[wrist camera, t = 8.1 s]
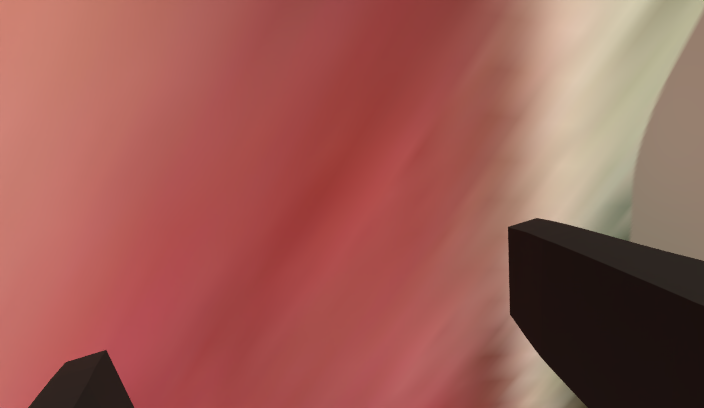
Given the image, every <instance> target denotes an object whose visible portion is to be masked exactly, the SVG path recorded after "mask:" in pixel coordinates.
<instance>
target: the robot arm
mask: <svg viewBox="0 0 704 408" xmlns="http://www.w3.org/2000/svg"><path fill="white" fill-rule="evenodd" d="M508 243H509V288H510V315H511V316H512V318H513V319H514V321H515V322H516V323H517V325H518V326H519V328H520V329H521V331H522V332H523V333H524V335H525V336H526V338H527V339H528V340H529V342H530V343H531V344H532V346H533V347H534V348H535V350H536V351H537V352H538V354H539V355H540V356H541V358H542V359H543V360H544V361H545V362H546V363H547V364H548V365H549V367H550V368H551V369H552V370H553V371H554V372H555V373H556V374H557V375H558V376H559V377H560V378H561V379H562V381H563V382H564V383H565V384H566V385H567V386H568V387H569V388H570V389H571V390H572V391H573V392H574V393H575V394H576V396H577V397H578V398H579V399H580V400H581V401H582V402H583V403H584V404H585V405H586V406H587V407H588V408H704V261H702V260H698V259H694V258H690V257H686V256H682V255H678V254H674V253H670V252H666V251H662V250H659V249H655V248H651V247H648V246H644V245H640V244H637V243H632V242H629V241H626V240H622V239H618V238H615V237H611V236H608V235H604V234H600V233H597V232H593V231H589V230H586V229H582V228H578V227H574V226H571V225H567V224H563V223H558V222H554V221H549V220H544V219H539V218H536V219H533V220H529V221H526V222H523V223H520V224H516V225H513V226H510V227H508ZM28 408H134V406H133V404H132V402H131V400H130V398H129V396H128V394H127V392H126V390H125V388H124V386H123V384H122V382H121V380H120V377H119V375H118V373H117V371H116V369H115V367H114V365H113V363H112V361H111V359H110V357H109V355H108V353H107V351H106V350H104V351H101V352H98V353H95V354H91V355H88V356H85V357H82V358H78V359H75V360H72V361H68V362H66V363H65V364H64V365H63V366H62V367H61V368H60V369H59V371H58V372H57V373H56V374H55V375H54V376H53V378H52V379H51V380H50V381H49V382H48V384H47V385H46V386H45V387H44V389H43V390H42V391H41V392H40V394H39V395H38V396H37V397H36V399H35V400H34V401H33V402H32V404H31V405H30V406H29V407H28Z"/></svg>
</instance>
